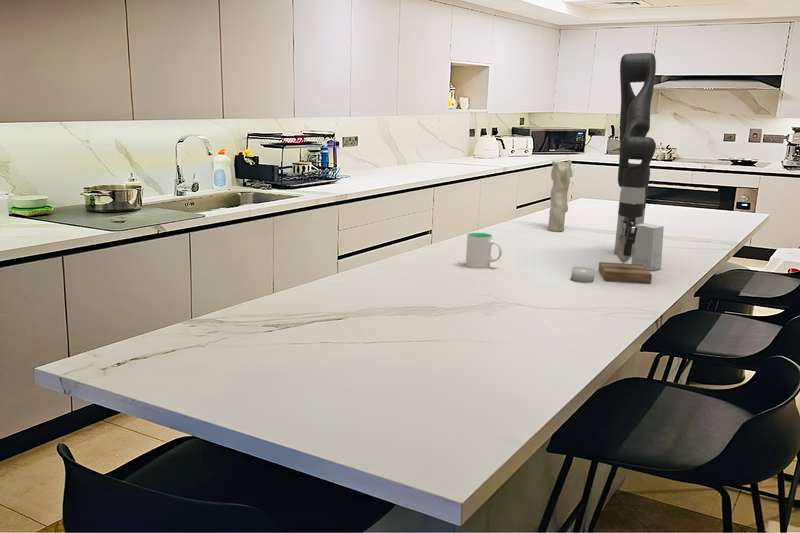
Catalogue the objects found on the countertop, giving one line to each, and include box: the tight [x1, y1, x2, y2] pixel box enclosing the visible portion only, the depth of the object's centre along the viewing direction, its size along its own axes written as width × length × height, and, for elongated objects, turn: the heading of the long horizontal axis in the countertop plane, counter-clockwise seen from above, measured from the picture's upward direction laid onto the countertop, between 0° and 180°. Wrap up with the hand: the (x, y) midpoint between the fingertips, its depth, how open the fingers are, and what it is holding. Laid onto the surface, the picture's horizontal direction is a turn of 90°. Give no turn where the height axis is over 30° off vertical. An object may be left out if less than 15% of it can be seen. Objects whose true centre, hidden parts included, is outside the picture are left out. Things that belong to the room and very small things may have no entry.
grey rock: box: [616, 233, 636, 264], centre depth 235 cm, size 6×4×10 cm, turn 71°
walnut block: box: [597, 261, 653, 285], centre depth 237 cm, size 14×14×3 cm
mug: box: [465, 232, 503, 269], centre depth 244 cm, size 12×8×10 cm, turn 65°
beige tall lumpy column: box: [547, 159, 573, 233], centre depth 311 cm, size 9×8×30 cm
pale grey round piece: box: [570, 266, 596, 284], centre depth 231 cm, size 7×7×4 cm
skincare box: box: [631, 223, 665, 271], centre depth 250 cm, size 8×6×15 cm
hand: (626, 254), depth 235 cm, fingers closed on grey rock, 3 cm apart
